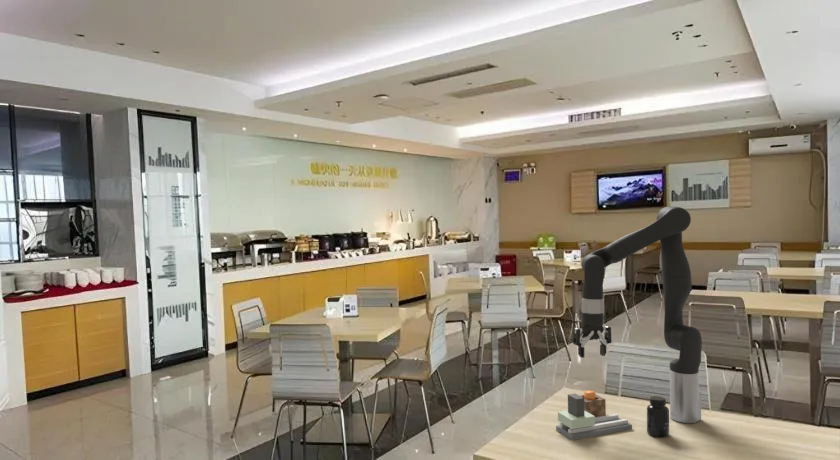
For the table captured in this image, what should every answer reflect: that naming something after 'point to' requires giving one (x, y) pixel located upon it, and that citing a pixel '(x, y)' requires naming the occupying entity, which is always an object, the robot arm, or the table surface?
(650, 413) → the supplement bottle
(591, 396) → the button
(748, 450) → the table surface
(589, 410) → the cabinet
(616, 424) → the track
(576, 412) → the carriage
